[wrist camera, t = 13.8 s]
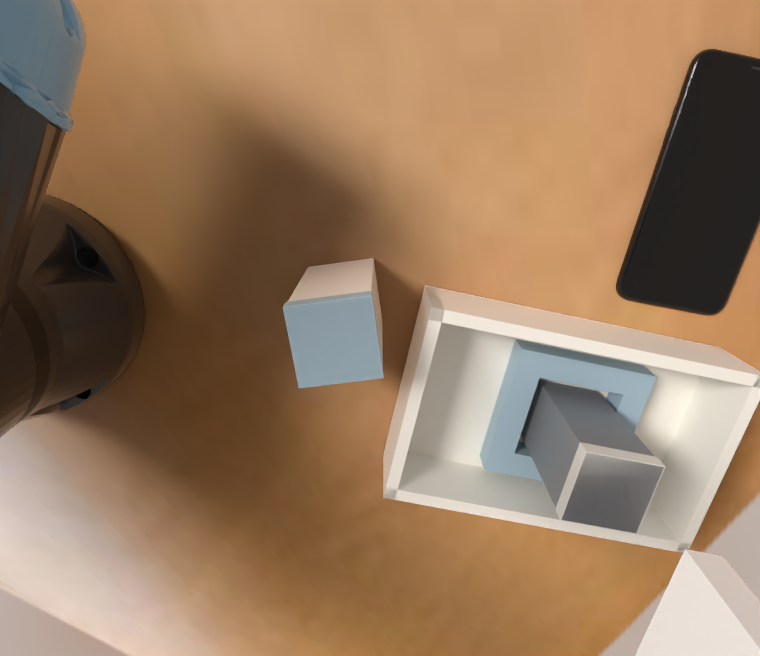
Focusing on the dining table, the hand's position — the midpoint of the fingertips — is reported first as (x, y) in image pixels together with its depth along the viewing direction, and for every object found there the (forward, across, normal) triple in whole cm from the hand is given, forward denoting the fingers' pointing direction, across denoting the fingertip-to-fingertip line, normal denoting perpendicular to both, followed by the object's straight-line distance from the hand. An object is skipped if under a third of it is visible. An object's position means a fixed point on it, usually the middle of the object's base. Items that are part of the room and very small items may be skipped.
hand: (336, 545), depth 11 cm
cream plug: (+29, -1, -3) cm, 29 cm away
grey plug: (+28, +16, -8) cm, 33 cm away
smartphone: (+29, +21, +9) cm, 37 cm away
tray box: (+29, +15, -8) cm, 33 cm away
